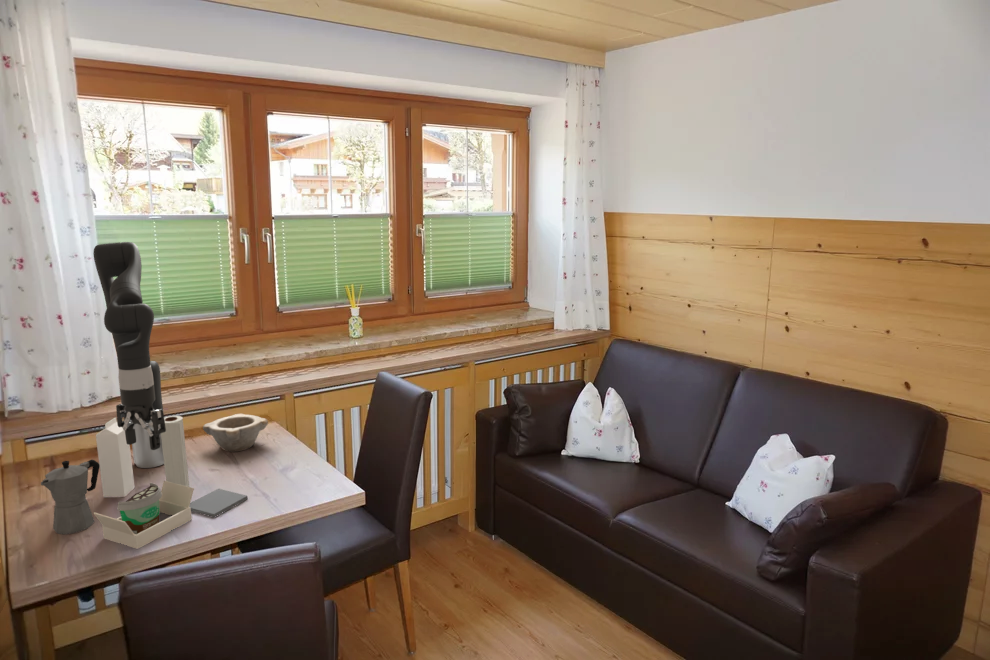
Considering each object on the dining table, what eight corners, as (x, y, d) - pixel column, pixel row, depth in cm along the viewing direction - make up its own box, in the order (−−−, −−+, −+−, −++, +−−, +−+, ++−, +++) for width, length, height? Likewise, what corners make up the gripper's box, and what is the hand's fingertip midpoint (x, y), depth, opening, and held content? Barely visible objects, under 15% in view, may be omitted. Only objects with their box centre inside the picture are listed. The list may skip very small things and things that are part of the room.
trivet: (184, 509, 183) (184, 505, 182) (218, 491, 193) (218, 488, 193) (214, 517, 178) (213, 514, 178) (247, 498, 189) (247, 495, 189)
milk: (134, 488, 195) (127, 416, 191) (124, 497, 190) (116, 423, 185) (113, 488, 195) (105, 416, 191) (102, 497, 189) (94, 423, 185)
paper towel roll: (169, 484, 198) (161, 416, 193) (191, 482, 199) (184, 414, 195) (163, 495, 191) (156, 424, 187) (186, 492, 192) (179, 422, 188)
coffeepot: (62, 541, 166) (53, 474, 162) (36, 534, 169) (26, 468, 165) (117, 514, 180) (109, 451, 176) (92, 508, 183) (84, 446, 179)
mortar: (242, 434, 238) (240, 410, 237) (274, 443, 230) (272, 418, 228) (200, 449, 224) (197, 423, 222) (232, 460, 216) (230, 433, 214)
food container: (142, 542, 166) (138, 505, 164) (121, 539, 167) (116, 502, 165) (175, 518, 177) (171, 483, 175) (154, 516, 179) (151, 481, 177)
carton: (95, 542, 165) (91, 512, 164) (166, 507, 184) (163, 479, 182) (129, 553, 160) (125, 522, 159) (198, 516, 179) (195, 488, 177)
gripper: (103, 384, 164) (110, 447, 167) (143, 391, 158) (150, 456, 162) (130, 377, 171) (137, 437, 174) (170, 383, 165) (176, 445, 168)
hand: (143, 446), depth 168 cm, fingers open, 8 cm apart
